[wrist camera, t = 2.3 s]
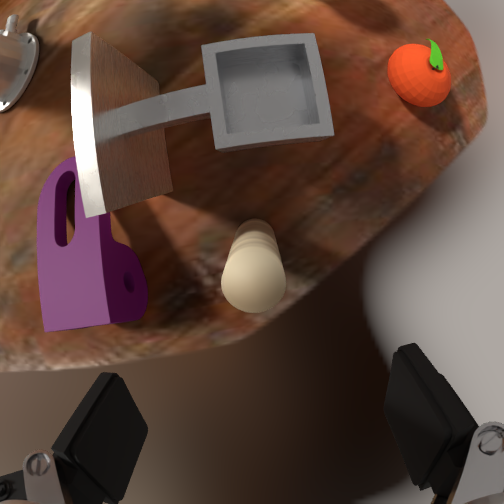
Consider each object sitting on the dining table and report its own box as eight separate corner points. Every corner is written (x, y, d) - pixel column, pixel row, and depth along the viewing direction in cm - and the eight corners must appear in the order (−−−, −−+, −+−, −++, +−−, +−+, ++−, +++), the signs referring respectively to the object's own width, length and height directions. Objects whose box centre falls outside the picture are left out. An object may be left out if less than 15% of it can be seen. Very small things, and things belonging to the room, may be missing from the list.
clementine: (380, 39, 23) (407, 14, 16) (431, 63, 23) (464, 47, 16) (373, 98, 25) (404, 81, 18) (426, 120, 25) (463, 113, 18)
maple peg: (232, 221, 29) (216, 257, 17) (272, 215, 29) (282, 249, 17) (238, 259, 30) (227, 315, 18) (277, 254, 30) (288, 308, 18)
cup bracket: (145, 86, 25) (72, 40, 11) (289, 59, 24) (313, -15, 10) (159, 194, 28) (85, 218, 15) (308, 171, 27) (354, 175, 14)
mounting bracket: (80, 195, 34) (90, 327, 31) (40, 174, 26) (44, 332, 23) (135, 173, 33) (152, 318, 30) (99, 143, 25) (110, 323, 22)
